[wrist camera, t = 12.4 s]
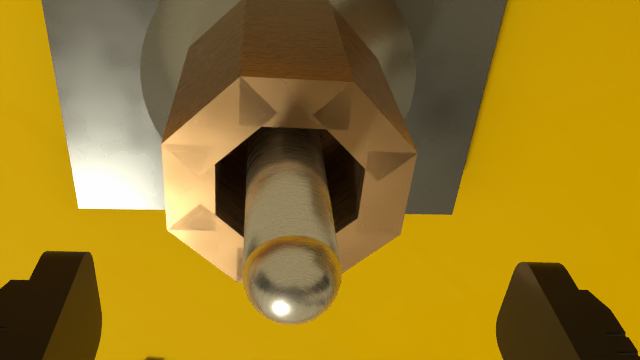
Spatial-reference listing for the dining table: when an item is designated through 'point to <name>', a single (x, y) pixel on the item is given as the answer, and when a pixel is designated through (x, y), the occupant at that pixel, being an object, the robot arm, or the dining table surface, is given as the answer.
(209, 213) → the copper ring
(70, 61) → the piston base
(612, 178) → the dining table surface
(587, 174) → the dining table surface
